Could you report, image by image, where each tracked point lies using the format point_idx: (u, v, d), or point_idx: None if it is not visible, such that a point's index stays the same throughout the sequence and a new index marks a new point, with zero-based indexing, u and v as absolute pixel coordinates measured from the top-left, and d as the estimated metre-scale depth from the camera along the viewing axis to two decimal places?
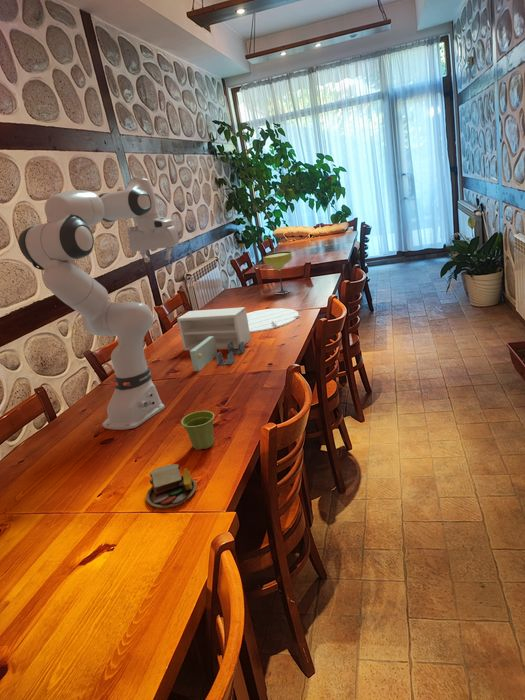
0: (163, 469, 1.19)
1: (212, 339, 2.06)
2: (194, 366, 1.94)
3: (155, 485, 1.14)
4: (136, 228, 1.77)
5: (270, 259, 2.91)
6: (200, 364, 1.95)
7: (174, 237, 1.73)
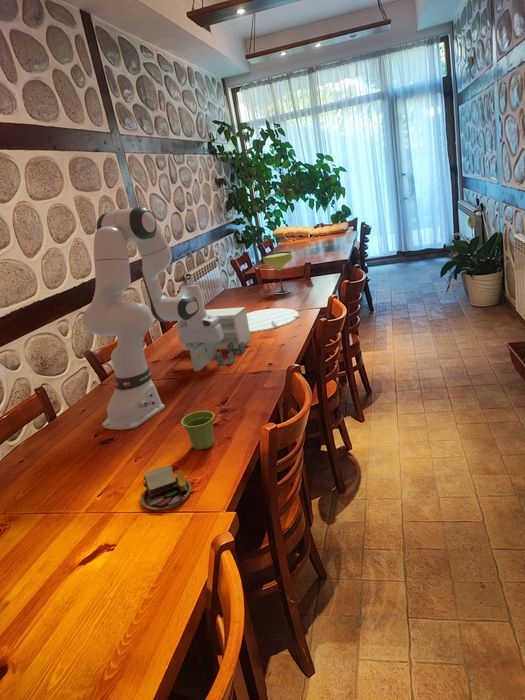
0: (157, 471, 1.19)
1: None
2: (194, 366, 1.94)
3: (150, 487, 1.14)
4: (185, 323, 1.98)
5: (270, 259, 2.91)
6: (200, 363, 1.95)
7: (220, 333, 1.94)
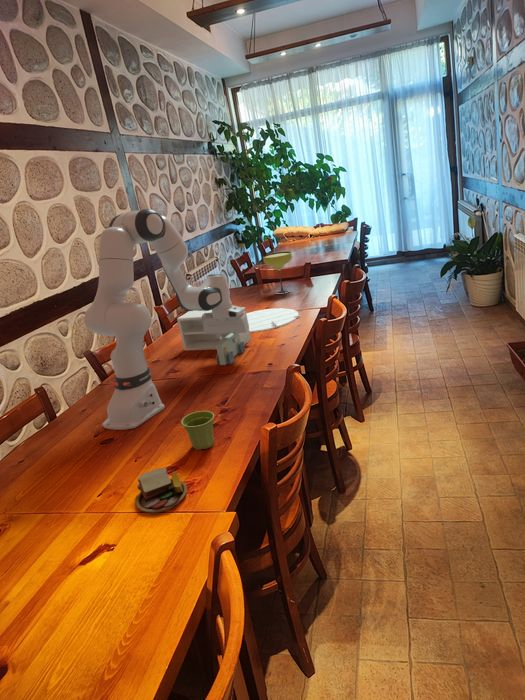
0: (151, 473, 1.18)
1: None
2: (220, 360, 1.95)
3: (145, 490, 1.13)
4: (210, 314, 1.98)
5: (270, 259, 2.91)
6: (226, 357, 1.95)
7: (246, 324, 1.94)
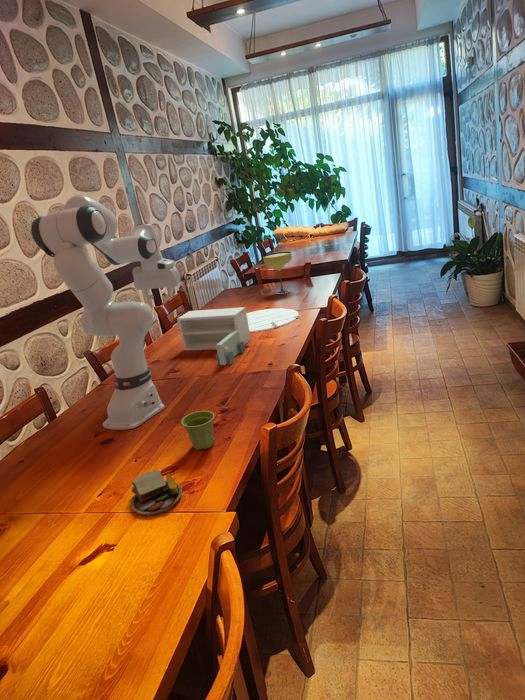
0: (145, 476, 1.18)
1: (237, 333, 2.06)
2: (220, 360, 1.95)
3: (140, 492, 1.12)
4: (140, 268, 1.89)
5: (270, 259, 2.91)
6: (226, 357, 1.95)
7: (176, 277, 1.85)
